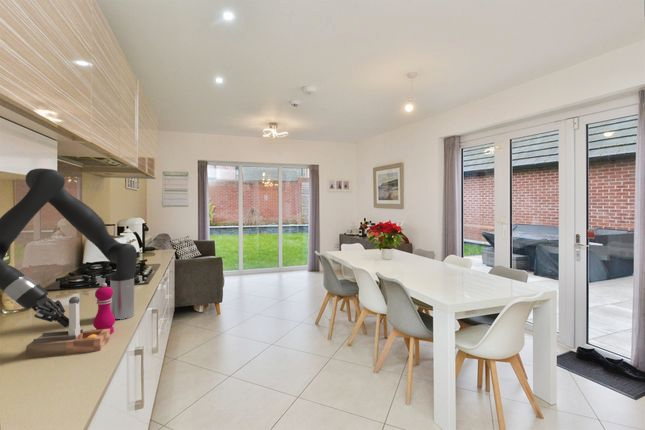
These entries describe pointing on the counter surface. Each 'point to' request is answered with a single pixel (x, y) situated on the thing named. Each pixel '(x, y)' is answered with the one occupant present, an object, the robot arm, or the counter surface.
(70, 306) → the launcher plunger
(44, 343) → the launcher track
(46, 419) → the counter surface
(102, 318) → the pepper mill
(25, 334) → the counter surface
